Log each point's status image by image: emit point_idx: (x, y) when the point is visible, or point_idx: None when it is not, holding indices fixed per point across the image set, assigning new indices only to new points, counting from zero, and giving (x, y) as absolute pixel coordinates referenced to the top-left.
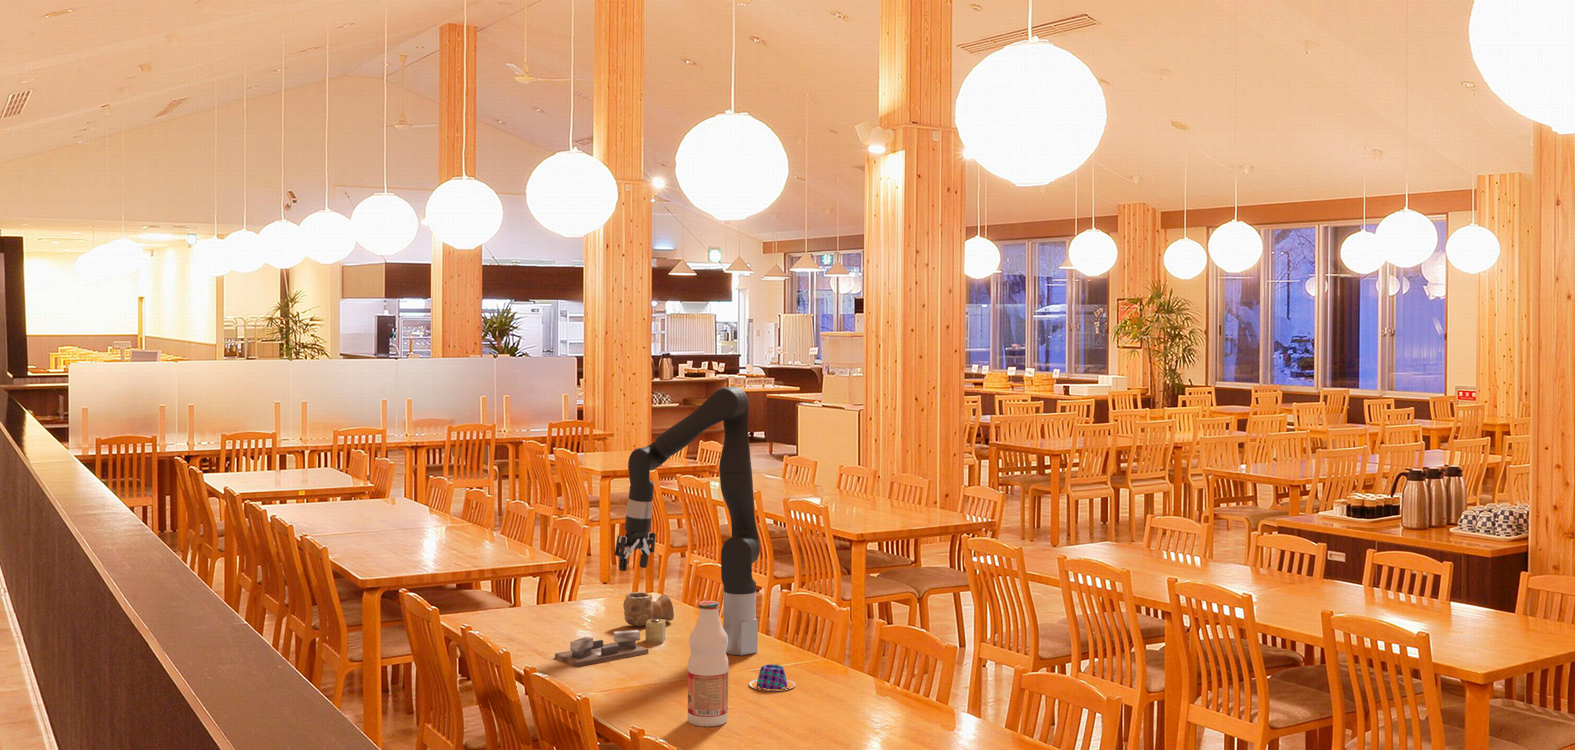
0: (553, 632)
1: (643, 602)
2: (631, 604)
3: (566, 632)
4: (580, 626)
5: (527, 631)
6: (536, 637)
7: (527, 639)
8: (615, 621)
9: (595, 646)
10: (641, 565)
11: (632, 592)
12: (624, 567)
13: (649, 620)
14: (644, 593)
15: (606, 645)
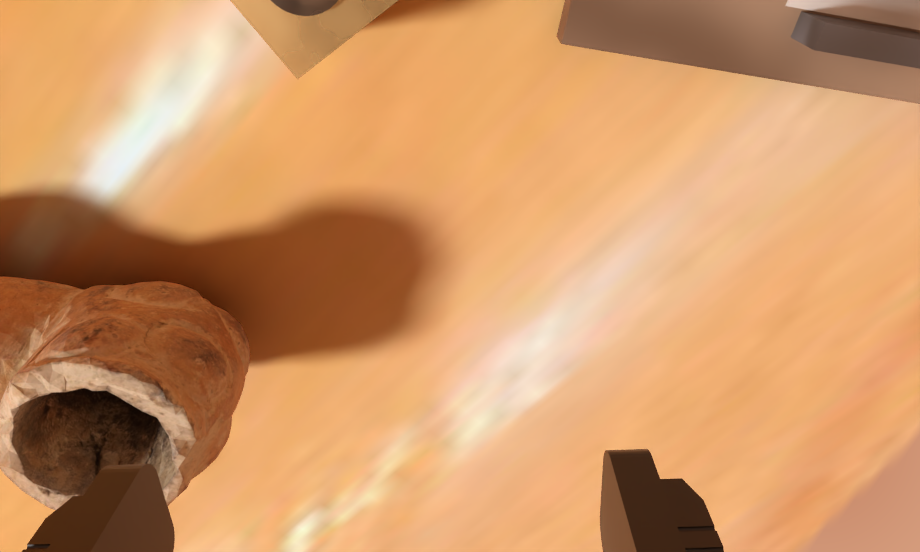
0: (589, 479)
1: (128, 349)
2: (210, 391)
3: (549, 446)
4: (417, 480)
5: None
6: (710, 464)
7: (763, 463)
8: None
9: (871, 25)
10: (157, 537)
11: None
12: (663, 496)
13: (327, 32)
14: (19, 464)
15: (742, 36)
